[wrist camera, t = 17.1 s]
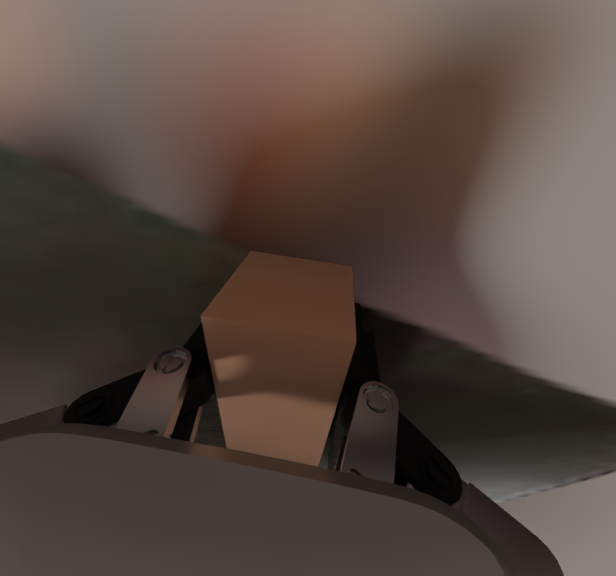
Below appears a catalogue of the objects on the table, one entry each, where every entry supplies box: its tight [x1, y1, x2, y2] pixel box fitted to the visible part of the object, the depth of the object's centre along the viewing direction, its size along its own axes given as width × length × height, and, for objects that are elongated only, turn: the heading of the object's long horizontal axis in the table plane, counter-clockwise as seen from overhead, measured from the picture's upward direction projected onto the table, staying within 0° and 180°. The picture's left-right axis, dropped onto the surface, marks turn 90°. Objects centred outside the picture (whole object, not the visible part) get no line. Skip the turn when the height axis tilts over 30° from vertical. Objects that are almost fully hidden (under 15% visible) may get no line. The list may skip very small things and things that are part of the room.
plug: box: [201, 251, 356, 466], centre depth 14 cm, size 18×4×4 cm, turn 174°
